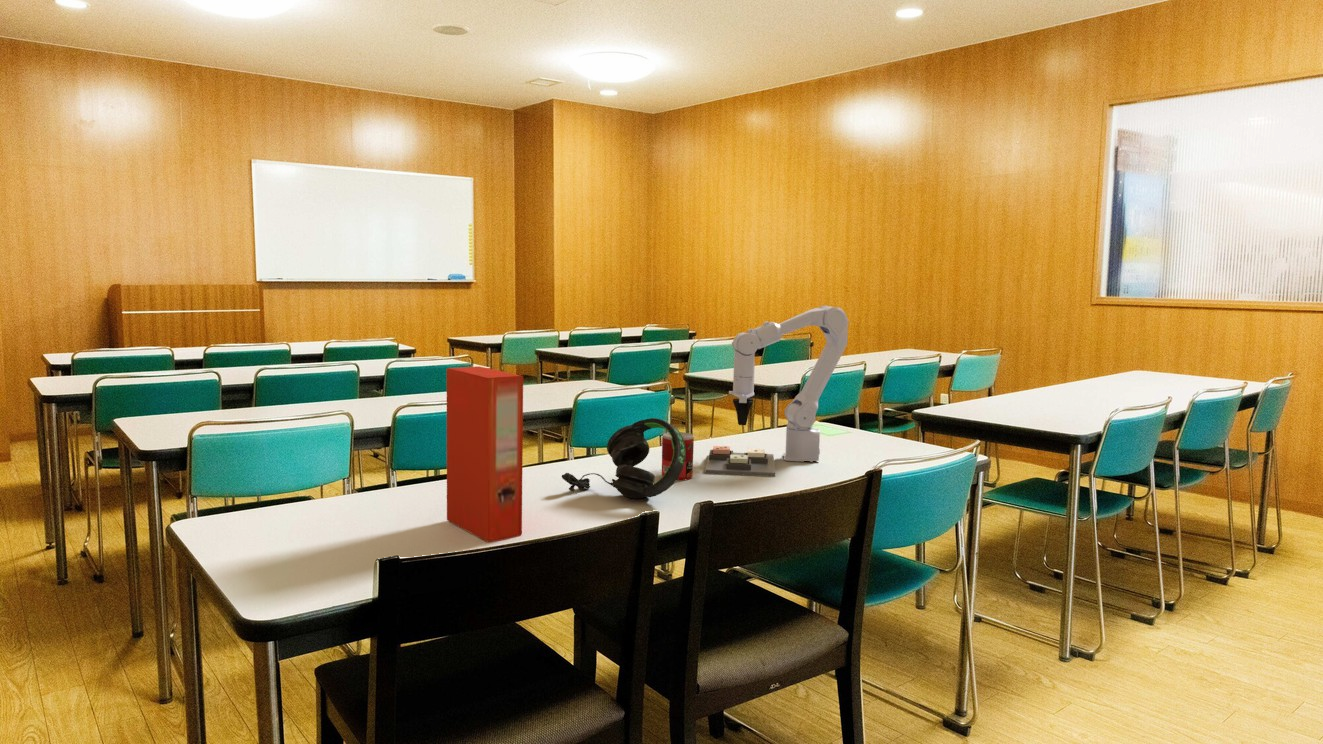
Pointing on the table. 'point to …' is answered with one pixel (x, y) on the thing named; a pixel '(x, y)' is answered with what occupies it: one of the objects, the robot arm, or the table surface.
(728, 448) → the key three
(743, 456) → the key two
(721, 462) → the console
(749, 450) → the key one
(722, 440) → the table surface
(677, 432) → the headset
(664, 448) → the canned food
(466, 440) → the file binder
